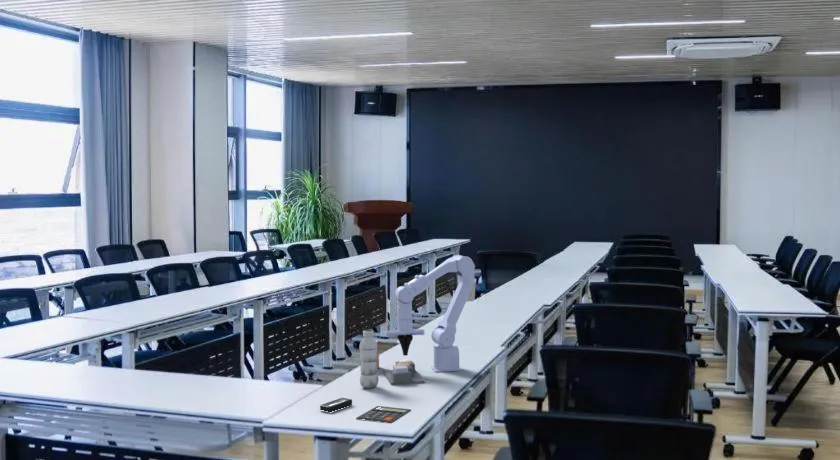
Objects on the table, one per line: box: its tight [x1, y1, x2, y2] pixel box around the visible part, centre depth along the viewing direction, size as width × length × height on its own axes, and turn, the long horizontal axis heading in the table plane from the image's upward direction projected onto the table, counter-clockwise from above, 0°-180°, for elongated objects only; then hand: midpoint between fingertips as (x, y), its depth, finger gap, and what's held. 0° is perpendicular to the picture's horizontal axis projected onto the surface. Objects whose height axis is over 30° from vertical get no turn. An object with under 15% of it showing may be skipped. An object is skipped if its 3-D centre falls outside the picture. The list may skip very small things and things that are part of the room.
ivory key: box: [397, 358, 413, 364], centre depth 312 cm, size 4×4×2 cm
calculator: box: [356, 405, 412, 424], centre depth 257 cm, size 12×1×15 cm
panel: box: [382, 361, 426, 386], centre depth 305 cm, size 12×20×4 cm, turn 11°
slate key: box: [393, 365, 408, 374], centre depth 298 cm, size 4×4×2 cm
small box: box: [359, 339, 380, 369], centre depth 320 cm, size 8×6×10 cm
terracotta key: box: [395, 363, 410, 369], centre depth 305 cm, size 4×4×2 cm
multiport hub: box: [319, 397, 353, 412], centre depth 265 cm, size 4×11×2 cm, turn 146°
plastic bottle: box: [358, 329, 379, 389], centre depth 290 cm, size 6×7×20 cm
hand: (405, 355), depth 312 cm, fingers closed
